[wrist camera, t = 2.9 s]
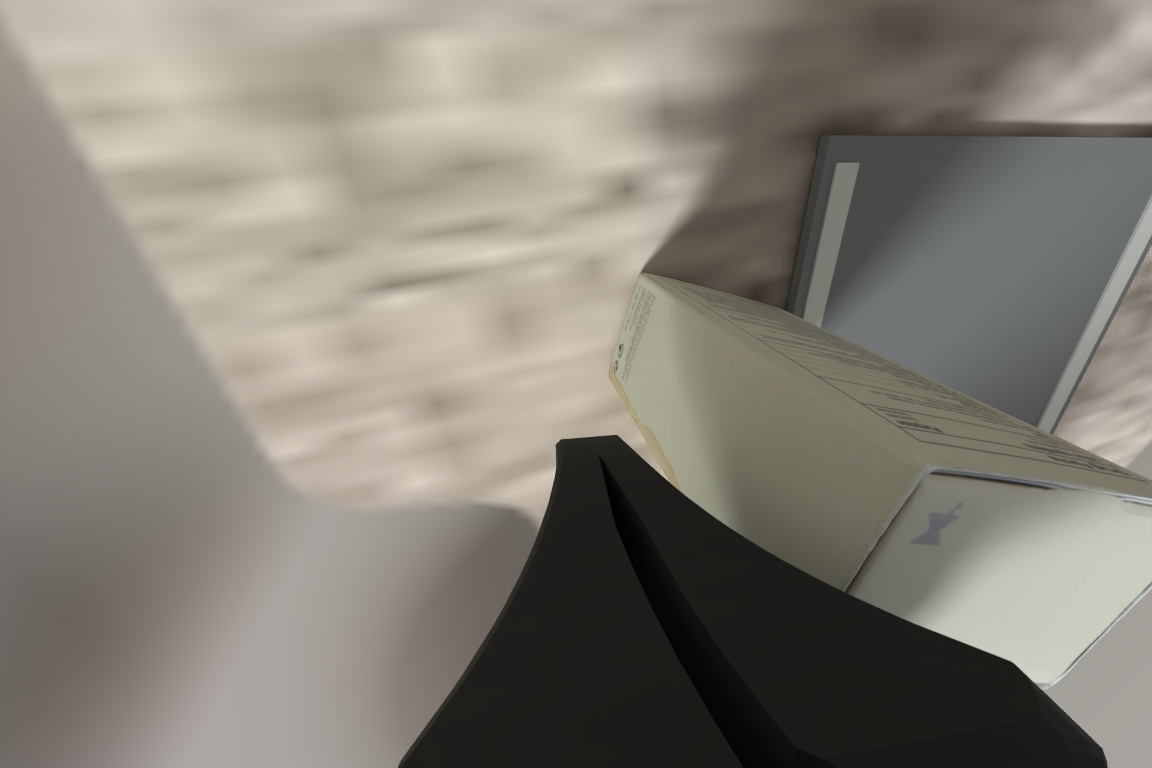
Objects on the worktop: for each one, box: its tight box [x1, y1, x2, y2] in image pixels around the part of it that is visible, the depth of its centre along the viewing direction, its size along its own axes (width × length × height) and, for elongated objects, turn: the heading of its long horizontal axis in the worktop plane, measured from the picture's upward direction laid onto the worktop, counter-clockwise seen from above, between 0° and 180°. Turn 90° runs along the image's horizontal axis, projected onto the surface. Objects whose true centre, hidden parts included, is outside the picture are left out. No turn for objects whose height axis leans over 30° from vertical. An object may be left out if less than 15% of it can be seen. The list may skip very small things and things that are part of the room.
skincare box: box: [609, 273, 1152, 690], centre depth 12 cm, size 6×4×12 cm
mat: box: [786, 135, 1152, 435], centre depth 19 cm, size 16×15×1 cm
